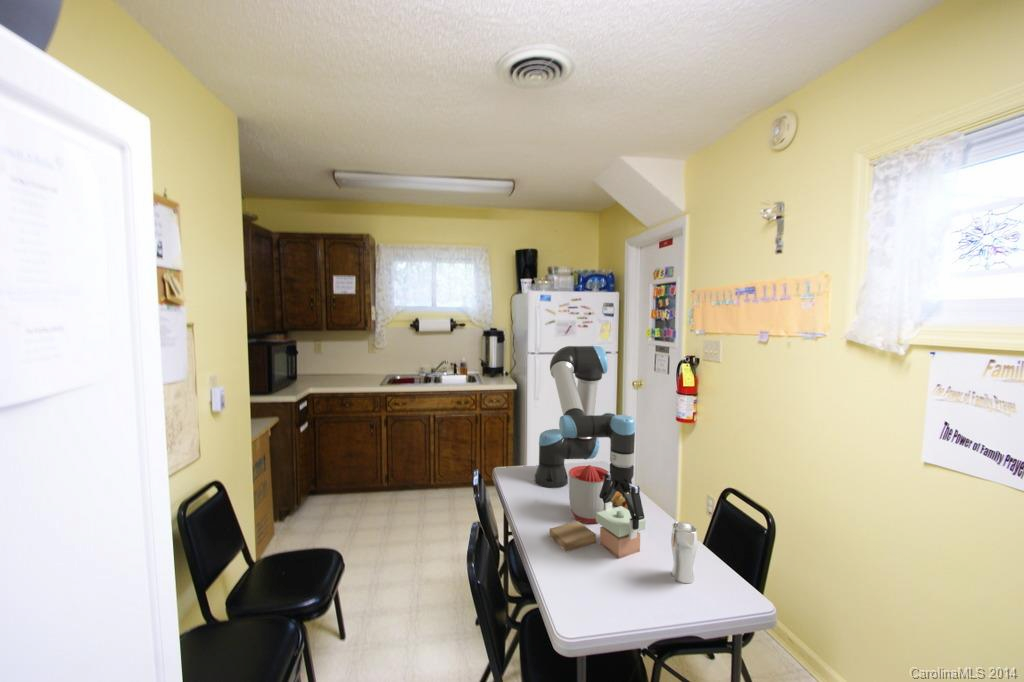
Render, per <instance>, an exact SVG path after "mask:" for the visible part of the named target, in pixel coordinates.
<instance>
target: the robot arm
mask: <svg viewBox="0 0 1024 682" xmlns="http://www.w3.org/2000/svg"><path fill="white" fill-rule="evenodd" d="M549 363H550V364H549V371H550V375H551V377H552V379H554V382H555V386H556V391H557V395H558V398H559V404H560V408H561V412H562V415H561V416H559V421H558V423H559V424H558V426H559V428H551V429H546V430H544V431H542V432H541V433H540V434H539V439H538V466H537V469H536V472H535V473H534V474H535V475H534V483H535V484H537V485H538V486H540V487H544V488H550V489H551V488H552V489H555V488H562V487H565V486H567V485H568V483H569V476H568V474H567V470H566V466H565V460H590V459H594V458H596V457H597V455H598V454H599V449H600V438H609V440H610V444H609V445H610V446H609V447H610V449H609V453H610V454H609V462H610V463H609V473H605V474H604V482H603V486H602V489H601V492H600V495H599V497H600V498H602V499H603V502H604V511H605V510H609V509H612V508H613V502H612V498H613V496H614V495H615V493H616V492H617V491H618V492H620V493H621V494H622V496H623V497H624V498H625V501H626V504H627V506H628V509H629V512H630V515H631V518H630V519H629V539H634V538H637V532H638V531H637V529H638V528H639V520H641V519H644V520H645V513H644V508H643V503H642V499H641V494H640V493H641V492H640V487H641V486H639V485H635V484H633V482H632V479H633V478H634V473H635V472H634V469H635V468H634V467H635V466H634V464H635V439H636V438H635V437H636V436H635V435H636V434H635V433H636V424H635V418H634V417H632V416H630V415H627V414H615V413H612V412H605V413H603V414H601V415H600V414H599V415H597V414H596V415H595V413H596V411H595V410H596V401H597V392H598V384H599V382H600V381H601V380H602V379H603V375H605V374H607V373H608V371H609V363H608V356H607V352H606V350H605V349H604V347H602V346H594V345H574V346H573V345H567V346H564V347H562V348H559V349H558V350H557V351H556V352H555V353H554V354H553V356H552V358H551V359H550V362H549ZM575 378H576V379H577V383H576V380H575ZM611 482H612V484H611ZM628 492H629V494H625V493H628ZM634 514H635V515H634Z"/></svg>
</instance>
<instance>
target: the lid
mask: <svg viewBox="0 0 1024 682" xmlns="http://www.w3.org/2000/svg"><path fill="white" fill-rule="evenodd" d="M634 515H635V514H634ZM630 518H631V515H630V512H629V510H627V509H626V508H624V507H622V506H619V507H618V506H616V507H612V509H609V510H605V511H601V512H597V513H596V522H597V523H596V524H599V525H601V527H602V526H603V527H605V528H606V529H608V530H609V531H611V532H612V533H613V534H615V535H616V536H618V537H622V536H625V535H628V534H629V519H630ZM644 530H646V519H645V518H644V519H641V520H639V528H638V529H637V532H641V531H644Z"/></svg>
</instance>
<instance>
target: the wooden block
mask: <svg viewBox="0 0 1024 682" xmlns="http://www.w3.org/2000/svg"><path fill="white" fill-rule="evenodd" d="M548 535H549V539H550V540H552V541H553V542H554V543H556V545H558V546H559V547H560V548H561V549H563V551H565V552H571V551H574V550H577V549H580V548H584V547H587V546H590V545H593V544H596V542H597V533H595V532H594V531H593V530H591V529H590V528H588V527H587V526H586V525H584V524H583V523H582V522H581V521H578V520H575V521H572V522H569V523H566V524H561V525H558V526H554V527H550V528H549V534H548Z"/></svg>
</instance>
